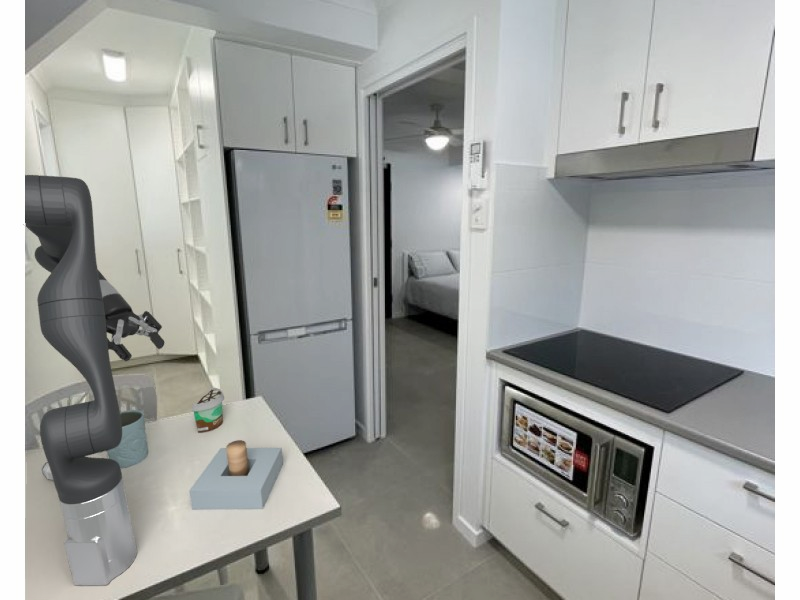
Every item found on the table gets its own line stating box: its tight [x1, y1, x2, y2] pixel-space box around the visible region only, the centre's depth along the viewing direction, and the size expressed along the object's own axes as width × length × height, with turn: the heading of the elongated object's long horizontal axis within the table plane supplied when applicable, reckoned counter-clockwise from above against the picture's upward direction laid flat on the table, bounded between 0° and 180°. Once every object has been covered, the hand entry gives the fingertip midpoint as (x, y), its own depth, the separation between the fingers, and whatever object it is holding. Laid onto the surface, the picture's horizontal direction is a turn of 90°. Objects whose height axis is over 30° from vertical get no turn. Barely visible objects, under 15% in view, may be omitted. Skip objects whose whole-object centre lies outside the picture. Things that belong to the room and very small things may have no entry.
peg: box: [225, 439, 249, 476], centre depth 97 cm, size 4×4×11 cm
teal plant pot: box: [106, 409, 149, 469], centre depth 108 cm, size 10×10×12 cm
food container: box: [191, 386, 225, 434], centre depth 124 cm, size 12×6×10 cm, turn 179°
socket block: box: [188, 447, 284, 510], centre depth 98 cm, size 16×16×5 cm
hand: (146, 352), depth 96 cm, fingers open, 8 cm apart
